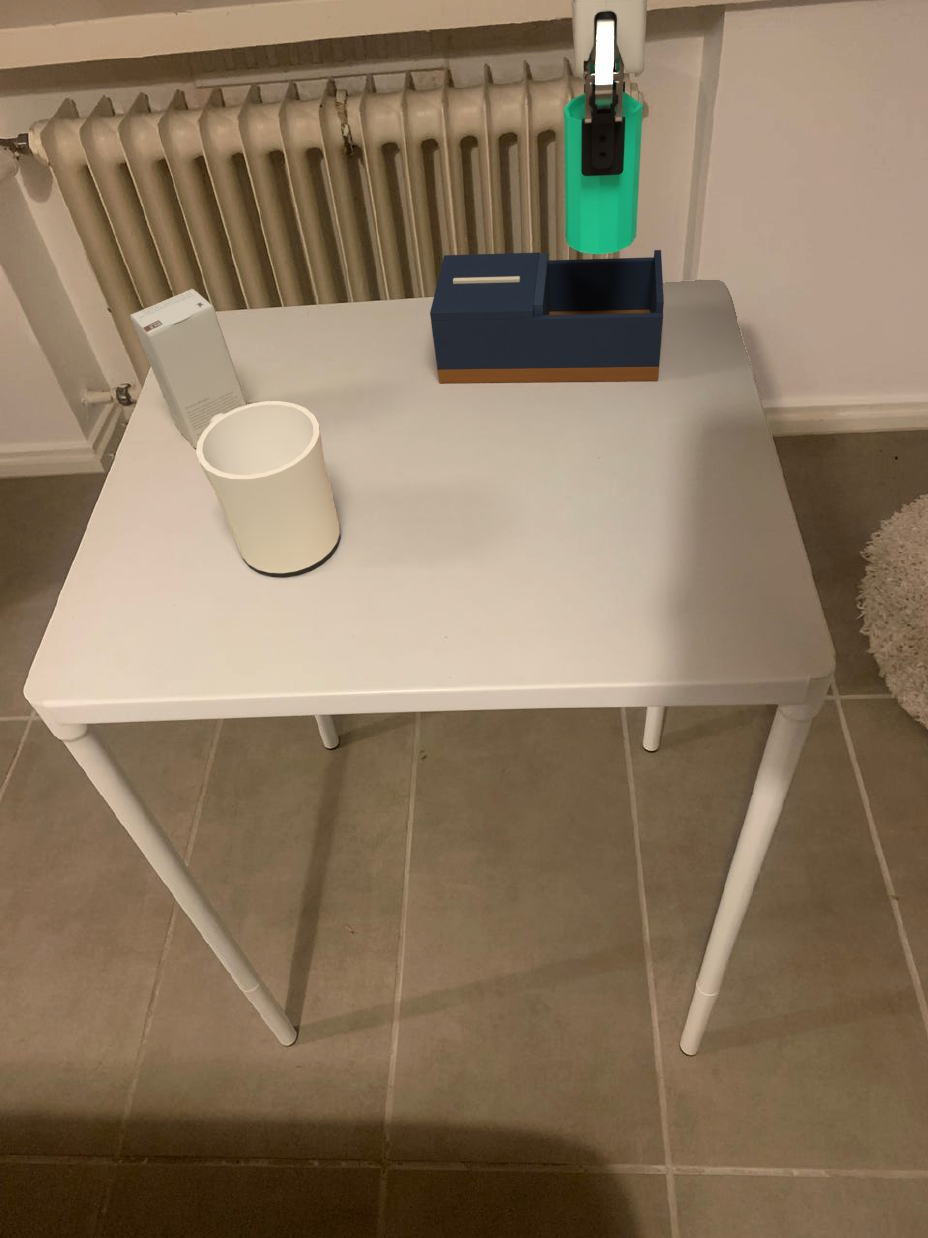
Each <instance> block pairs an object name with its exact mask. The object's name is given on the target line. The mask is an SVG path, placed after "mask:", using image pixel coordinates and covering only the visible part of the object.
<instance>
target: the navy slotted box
mask: <svg viewBox="0 0 928 1238" xmlns="http://www.w3.org/2000/svg"><path fill="white" fill-rule="evenodd" d="M662 261H663V259H662V250H661V249H654V251H653V257H652V256H650V257H648V256H647V257H620V258H618V257H616V258H584V259H582V258H581V259H580V258H579V259H549V253H548V252H546V253H545V252H544V253H540V252H538V251H537V252H510V253H509V252H507V253H478V254H475V253H474V254H444V255H443V259H442V262H441V266H440V271H439V274H438V279H437V283H436V287H435V291H434V295H433V298H432V300H433V301H432V302H431V307H430V311H429V316H430V324H431V331H432V332H431V333H432V339H433V346H434V347H433V348H434V355H435V363H436V369H437V376H438V377H437V378H438V383H439V384H480V383H483V384H484V383H486V384H487V383H488V384H489V383H491V384H492V383H493V384H494V383H496V384H497V383H567V382H568V383H575V382H576V383H577V382H578V383H580V382H586V383H587V382H590V383H591V382H656V381H659V374H660V373H659V372H660V362H661V349H662V337H663V324H664V307H665V306H664V305H665V298H664V297H665V296H664V279H663V262H662Z"/></svg>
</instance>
